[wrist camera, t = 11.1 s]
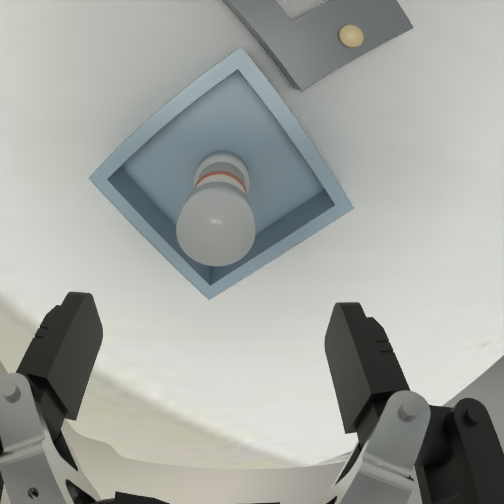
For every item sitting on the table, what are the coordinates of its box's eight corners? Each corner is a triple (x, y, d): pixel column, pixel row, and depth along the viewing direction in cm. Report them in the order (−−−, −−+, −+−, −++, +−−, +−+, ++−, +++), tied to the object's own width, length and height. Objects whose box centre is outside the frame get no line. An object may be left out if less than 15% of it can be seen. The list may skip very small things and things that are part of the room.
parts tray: (240, 52, 19) (241, 46, 16) (337, 188, 25) (353, 208, 21) (108, 161, 23) (88, 178, 19) (211, 271, 28) (208, 299, 25)
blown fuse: (227, 140, 22) (221, 179, 14) (258, 179, 23) (271, 239, 16) (186, 171, 23) (160, 227, 15) (218, 208, 24) (210, 278, 17)
